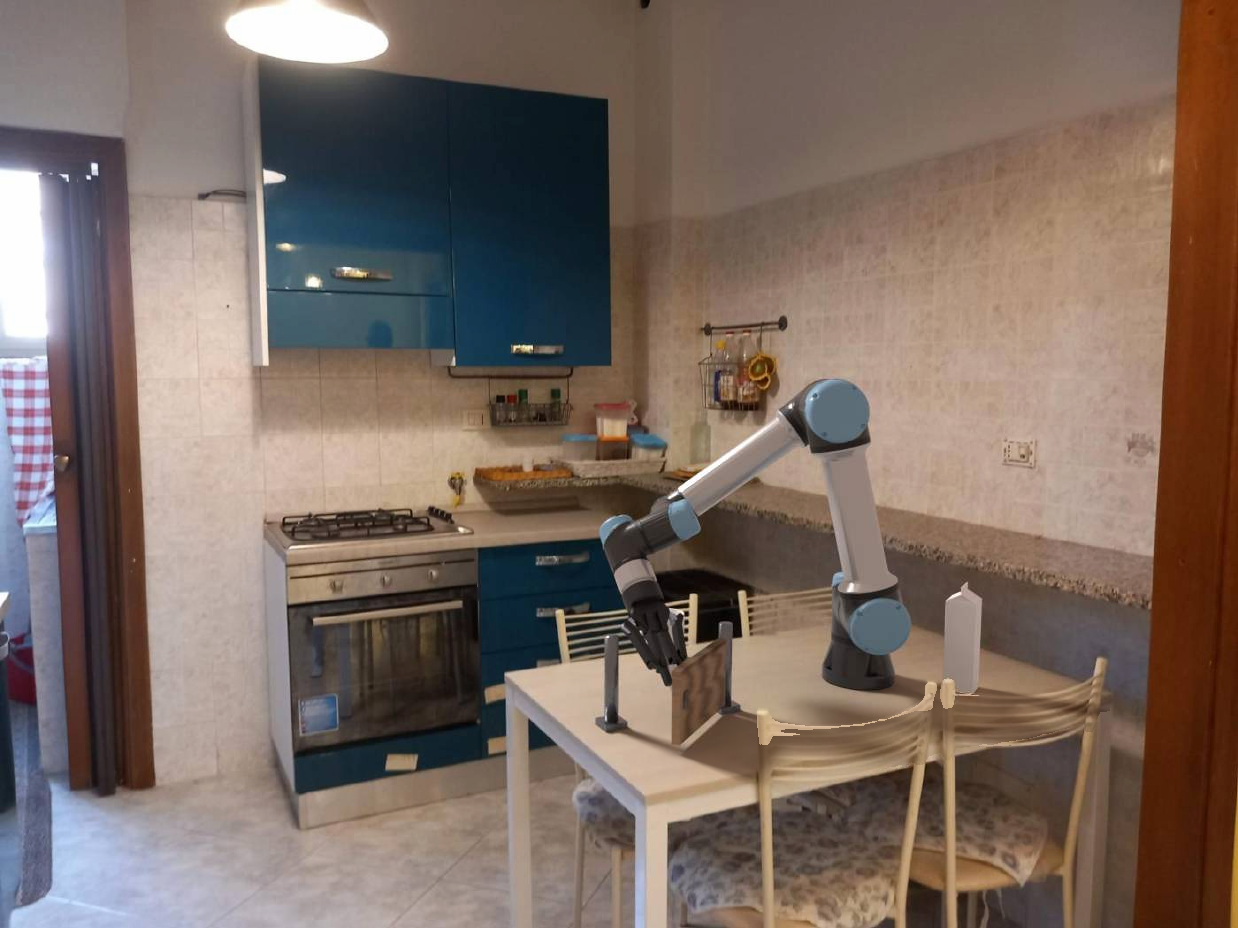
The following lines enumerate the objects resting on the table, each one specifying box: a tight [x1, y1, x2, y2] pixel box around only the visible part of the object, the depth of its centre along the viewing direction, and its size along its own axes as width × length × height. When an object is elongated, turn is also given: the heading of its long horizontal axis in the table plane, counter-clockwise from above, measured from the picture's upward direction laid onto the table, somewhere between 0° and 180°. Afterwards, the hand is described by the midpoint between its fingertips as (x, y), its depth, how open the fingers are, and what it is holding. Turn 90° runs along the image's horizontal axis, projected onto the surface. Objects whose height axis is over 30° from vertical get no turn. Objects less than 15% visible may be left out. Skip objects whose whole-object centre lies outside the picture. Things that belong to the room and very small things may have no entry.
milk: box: [942, 581, 983, 694], centre depth 192 cm, size 6×6×22 cm
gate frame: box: [594, 621, 742, 733], centre depth 176 cm, size 28×7×17 cm, turn 118°
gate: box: [671, 637, 726, 747], centre depth 169 cm, size 22×2×13 cm, turn 153°
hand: (682, 700), depth 168 cm, fingers closed
